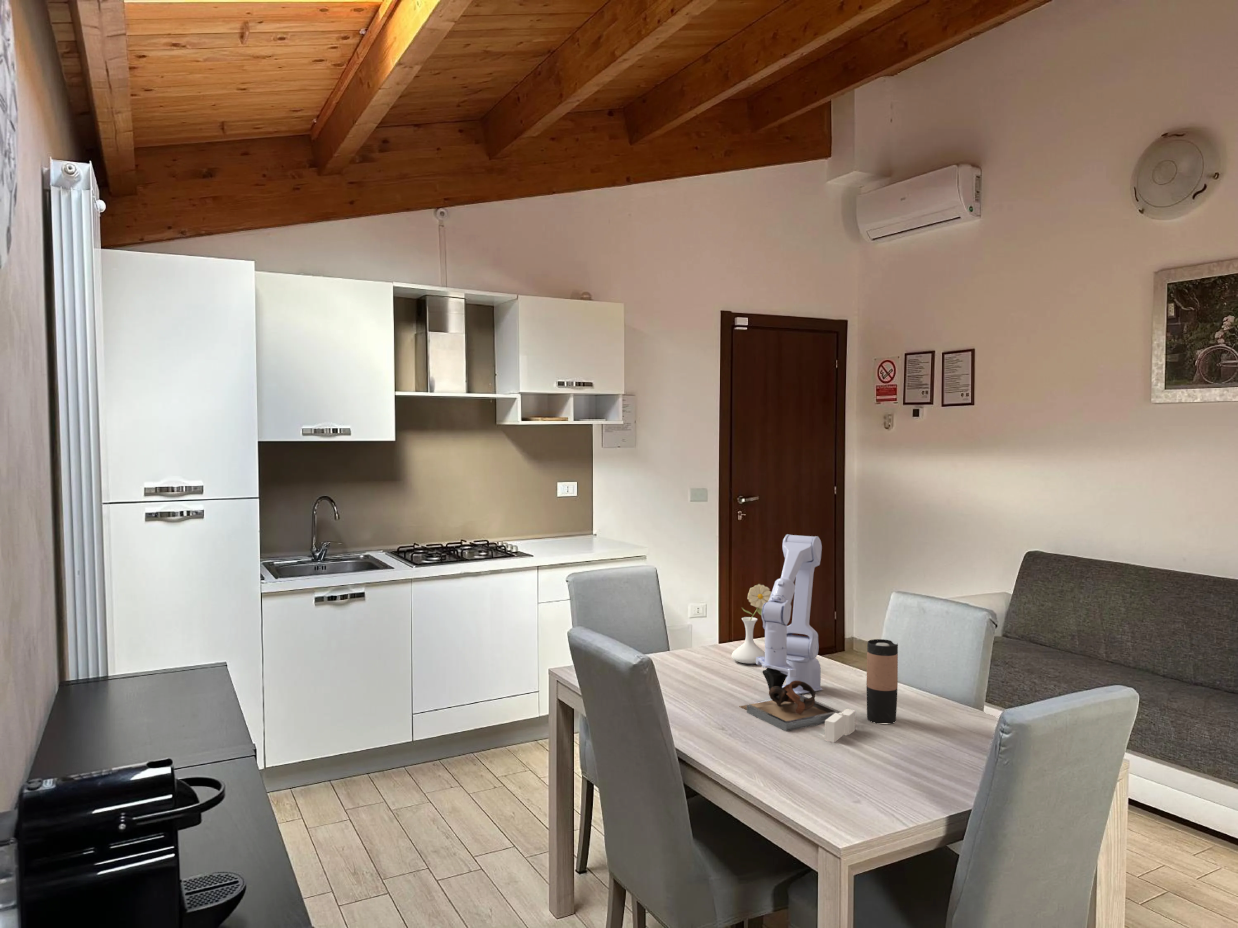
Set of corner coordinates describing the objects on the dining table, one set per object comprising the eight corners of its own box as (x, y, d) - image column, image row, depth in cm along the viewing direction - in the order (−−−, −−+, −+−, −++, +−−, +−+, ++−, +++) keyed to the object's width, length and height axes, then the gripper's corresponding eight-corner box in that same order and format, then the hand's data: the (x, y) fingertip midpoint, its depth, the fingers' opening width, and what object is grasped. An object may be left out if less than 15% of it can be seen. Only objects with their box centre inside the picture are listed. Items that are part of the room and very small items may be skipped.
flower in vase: (728, 664, 278) (728, 585, 276) (734, 655, 288) (734, 579, 287) (770, 668, 274) (770, 588, 273) (774, 658, 285) (775, 581, 283)
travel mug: (862, 721, 225) (864, 644, 224) (869, 712, 232) (870, 637, 231) (893, 726, 221) (895, 647, 220) (899, 717, 228) (900, 640, 227)
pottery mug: (802, 702, 239) (814, 680, 235) (809, 728, 231) (822, 706, 227) (761, 693, 237) (772, 670, 233) (766, 719, 229) (778, 696, 225)
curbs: (800, 701, 241) (800, 694, 241) (841, 719, 226) (841, 711, 226) (746, 712, 232) (746, 704, 232) (786, 731, 218) (786, 723, 218)
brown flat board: (785, 700, 245) (785, 694, 245) (835, 721, 227) (835, 715, 227) (738, 709, 237) (738, 703, 237) (786, 732, 219) (786, 725, 219)
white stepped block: (827, 748, 208) (828, 724, 208) (803, 732, 219) (804, 709, 218) (883, 741, 212) (883, 718, 212) (856, 726, 223) (857, 703, 223)
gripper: (747, 642, 240) (746, 691, 240) (781, 654, 227) (780, 706, 228) (767, 639, 243) (767, 687, 244) (802, 651, 230) (802, 702, 231)
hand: (775, 696), depth 236 cm, fingers closed
